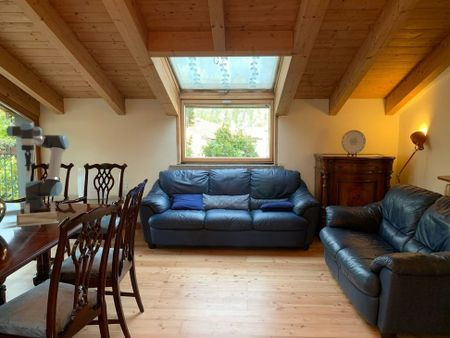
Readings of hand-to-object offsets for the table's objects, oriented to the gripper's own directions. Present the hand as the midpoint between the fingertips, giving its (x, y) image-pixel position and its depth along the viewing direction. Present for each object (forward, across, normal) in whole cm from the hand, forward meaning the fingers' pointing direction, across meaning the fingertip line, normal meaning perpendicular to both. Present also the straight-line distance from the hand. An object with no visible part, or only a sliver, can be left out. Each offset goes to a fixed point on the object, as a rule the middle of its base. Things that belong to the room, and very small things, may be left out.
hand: (28, 174), depth 223 cm
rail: (+31, +21, +5) cm, 38 cm away
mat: (+31, +21, +5) cm, 38 cm away
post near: (+32, +8, -2) cm, 33 cm away
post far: (+32, +8, +14) cm, 36 cm away
